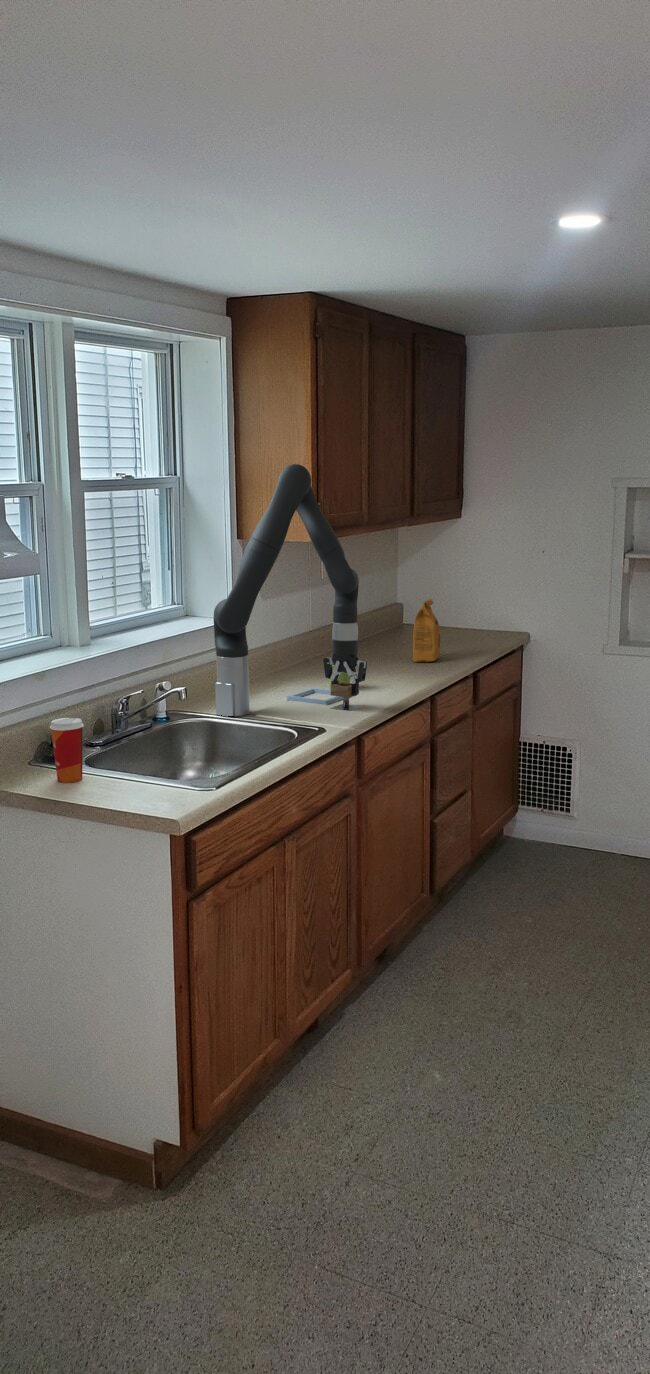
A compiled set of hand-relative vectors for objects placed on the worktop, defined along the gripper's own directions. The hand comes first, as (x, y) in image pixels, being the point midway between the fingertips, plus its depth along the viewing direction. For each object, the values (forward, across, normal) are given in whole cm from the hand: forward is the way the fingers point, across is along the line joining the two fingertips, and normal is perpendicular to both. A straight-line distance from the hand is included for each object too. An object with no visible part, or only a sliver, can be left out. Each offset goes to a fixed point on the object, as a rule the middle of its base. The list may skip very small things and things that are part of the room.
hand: (344, 694), depth 322 cm
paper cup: (+6, -16, -94) cm, 95 cm away
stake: (+5, 0, 0) cm, 5 cm away
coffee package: (+4, -18, +85) cm, 87 cm away
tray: (+5, -14, +7) cm, 16 cm away
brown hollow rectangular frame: (0, 0, 0) cm, 0 cm away
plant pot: (+5, -18, +25) cm, 32 cm away
